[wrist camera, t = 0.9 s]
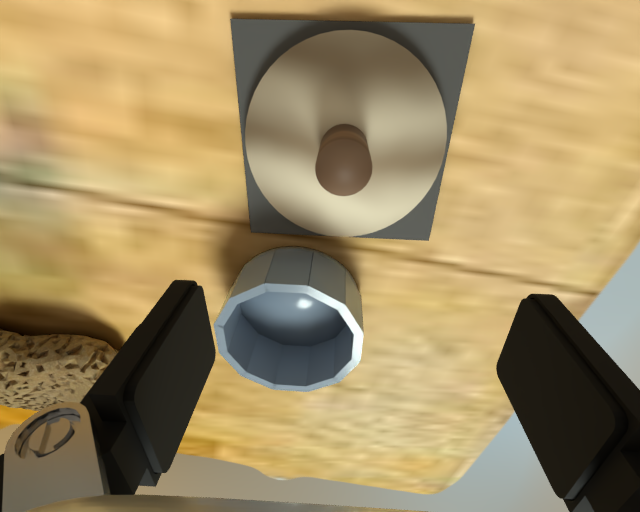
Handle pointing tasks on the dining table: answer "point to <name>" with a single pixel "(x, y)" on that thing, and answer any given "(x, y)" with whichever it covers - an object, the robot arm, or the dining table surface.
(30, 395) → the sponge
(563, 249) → the dining table surface
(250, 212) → the mat
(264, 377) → the cup
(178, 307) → the robot arm
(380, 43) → the lid
